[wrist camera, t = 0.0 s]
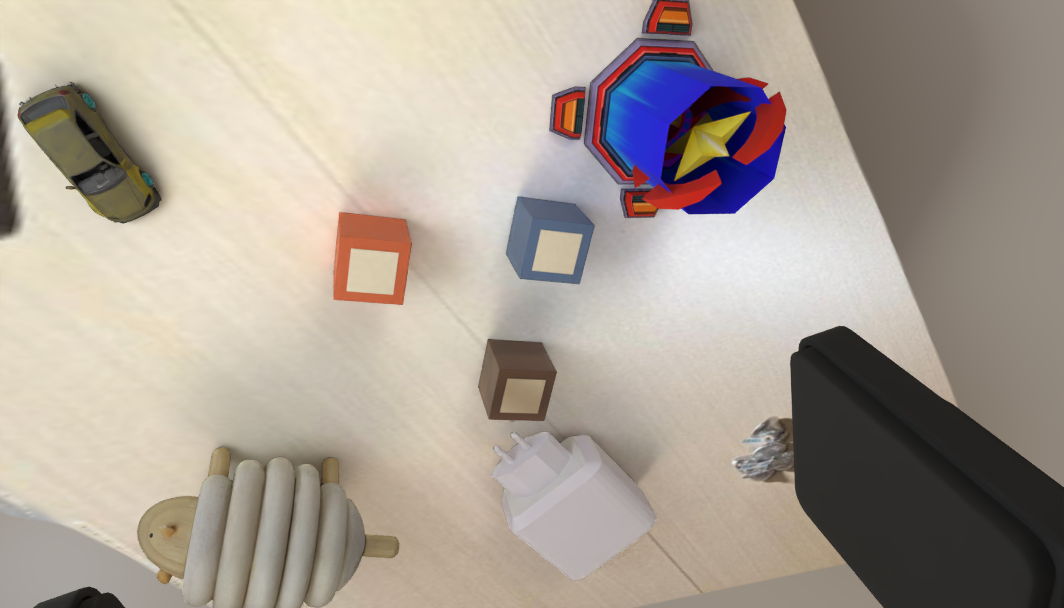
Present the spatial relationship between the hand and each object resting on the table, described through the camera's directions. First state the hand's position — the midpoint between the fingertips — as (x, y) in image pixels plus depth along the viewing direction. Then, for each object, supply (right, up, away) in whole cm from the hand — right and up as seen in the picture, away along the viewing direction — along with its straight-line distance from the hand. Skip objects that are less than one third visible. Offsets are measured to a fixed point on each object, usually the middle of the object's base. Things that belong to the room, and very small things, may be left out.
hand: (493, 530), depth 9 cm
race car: (-24, +12, +30) cm, 40 cm away
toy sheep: (-19, -10, +43) cm, 48 cm away
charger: (+2, -11, +49) cm, 50 cm away
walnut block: (-1, -2, +43) cm, 43 cm away
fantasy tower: (+9, +16, +37) cm, 41 cm away
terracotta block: (-10, +7, +36) cm, 38 cm away
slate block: (+1, +8, +39) cm, 40 cm away
